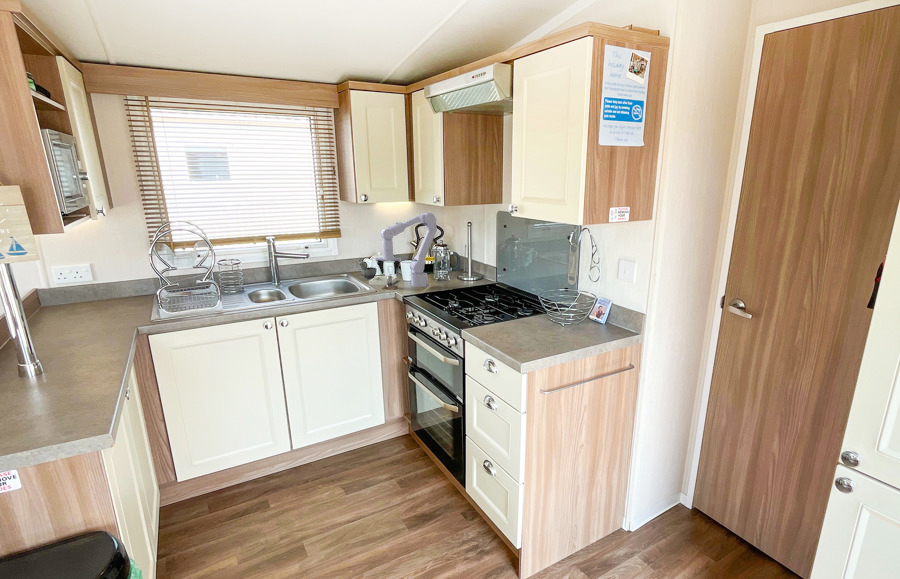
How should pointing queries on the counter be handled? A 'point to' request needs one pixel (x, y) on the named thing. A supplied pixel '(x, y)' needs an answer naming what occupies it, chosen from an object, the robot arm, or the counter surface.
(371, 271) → the mortar and pestle
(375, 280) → the bin
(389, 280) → the strut
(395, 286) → the stud block
